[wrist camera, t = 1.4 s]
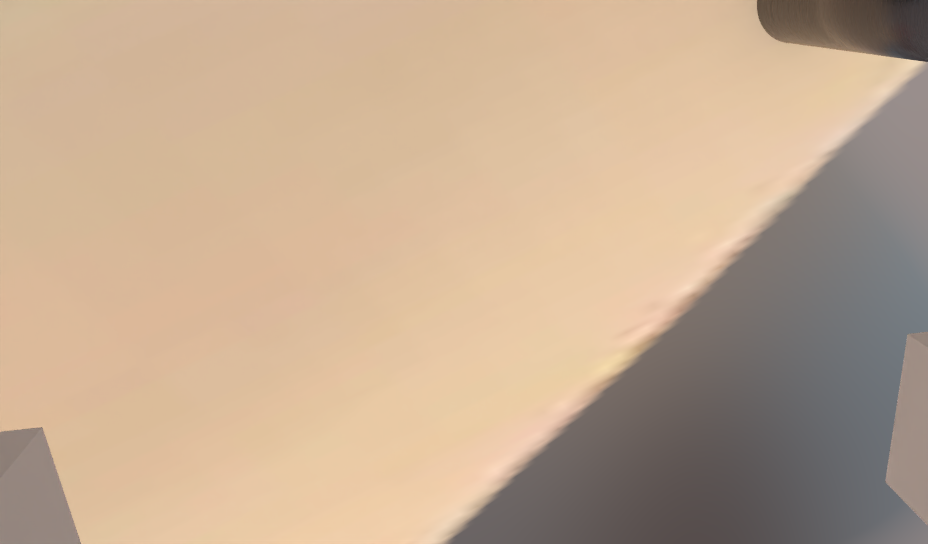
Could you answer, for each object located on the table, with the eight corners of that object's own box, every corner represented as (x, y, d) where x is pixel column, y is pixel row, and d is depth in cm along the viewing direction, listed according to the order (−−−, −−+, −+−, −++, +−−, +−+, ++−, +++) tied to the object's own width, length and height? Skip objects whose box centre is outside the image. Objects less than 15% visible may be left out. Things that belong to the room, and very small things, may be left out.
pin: (746, 34, 36) (941, 59, 23) (773, -55, 35) (997, -82, 22) (821, 50, 37) (1054, 83, 24) (851, -37, 35) (1115, -52, 22)
